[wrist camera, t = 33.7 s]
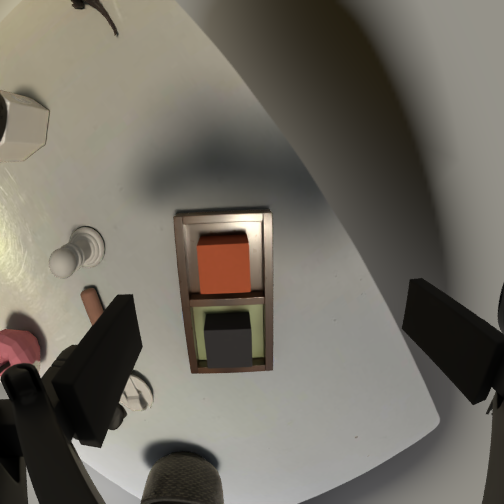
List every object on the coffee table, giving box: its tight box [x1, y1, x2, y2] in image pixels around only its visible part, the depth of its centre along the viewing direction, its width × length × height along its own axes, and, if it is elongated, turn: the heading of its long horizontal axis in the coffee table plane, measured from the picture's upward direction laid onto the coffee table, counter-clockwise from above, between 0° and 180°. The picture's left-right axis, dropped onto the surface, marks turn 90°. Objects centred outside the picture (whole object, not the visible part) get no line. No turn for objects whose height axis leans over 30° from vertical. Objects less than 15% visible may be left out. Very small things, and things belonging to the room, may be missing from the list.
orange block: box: [197, 234, 251, 294], centre depth 36 cm, size 6×6×4 cm
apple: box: [0, 329, 40, 376], centre depth 35 cm, size 10×9×10 cm
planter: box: [141, 451, 224, 504], centre depth 42 cm, size 14×14×13 cm
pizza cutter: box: [81, 288, 153, 411], centre depth 40 cm, size 20×6×3 cm, turn 13°
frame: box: [174, 209, 273, 373], centre depth 39 cm, size 11×21×3 cm, turn 2°
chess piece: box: [49, 227, 105, 279], centre depth 33 cm, size 5×5×9 cm
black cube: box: [204, 312, 253, 369], centre depth 38 cm, size 6×6×4 cm
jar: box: [0, 90, 49, 162], centre depth 26 cm, size 9×8×12 cm
